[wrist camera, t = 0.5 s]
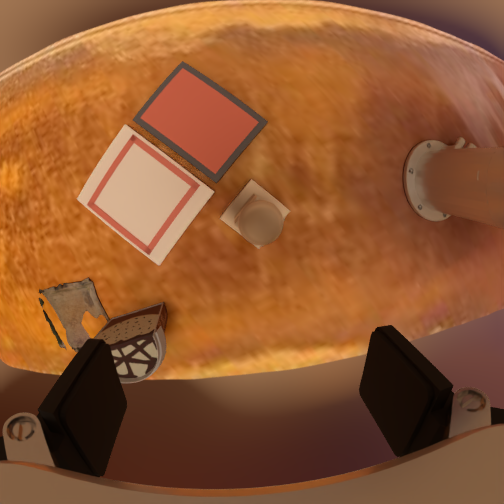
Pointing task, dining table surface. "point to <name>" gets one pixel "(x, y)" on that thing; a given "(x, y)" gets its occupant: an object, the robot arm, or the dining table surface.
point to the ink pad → (200, 121)
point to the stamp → (256, 215)
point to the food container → (137, 342)
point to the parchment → (73, 309)
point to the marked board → (144, 194)
